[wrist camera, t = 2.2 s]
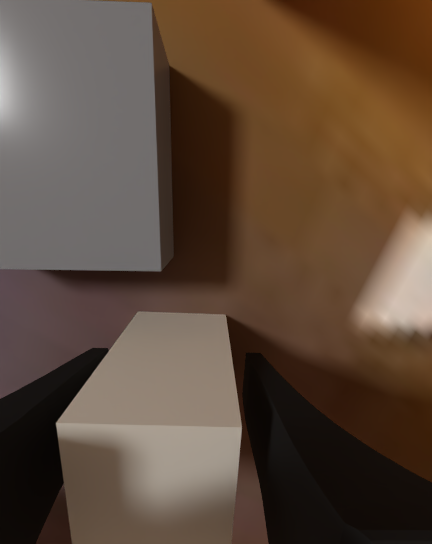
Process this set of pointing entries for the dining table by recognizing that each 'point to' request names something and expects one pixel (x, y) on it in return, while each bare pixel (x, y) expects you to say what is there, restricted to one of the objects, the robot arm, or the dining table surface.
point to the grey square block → (84, 137)
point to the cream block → (155, 436)
